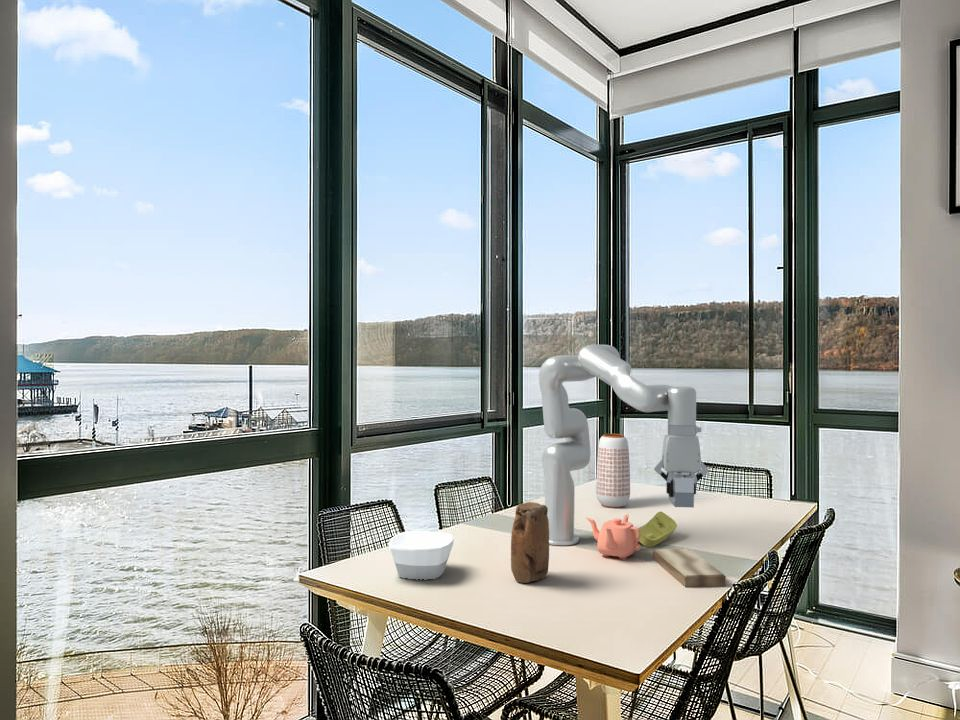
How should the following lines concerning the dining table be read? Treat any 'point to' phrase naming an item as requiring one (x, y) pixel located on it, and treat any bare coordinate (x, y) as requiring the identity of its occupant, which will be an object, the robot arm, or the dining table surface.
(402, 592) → the dining table surface
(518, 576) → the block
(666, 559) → the walnut stand
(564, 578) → the dining table surface
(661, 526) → the plastic component
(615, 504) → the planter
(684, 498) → the housing
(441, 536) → the bowl
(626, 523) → the teapot
